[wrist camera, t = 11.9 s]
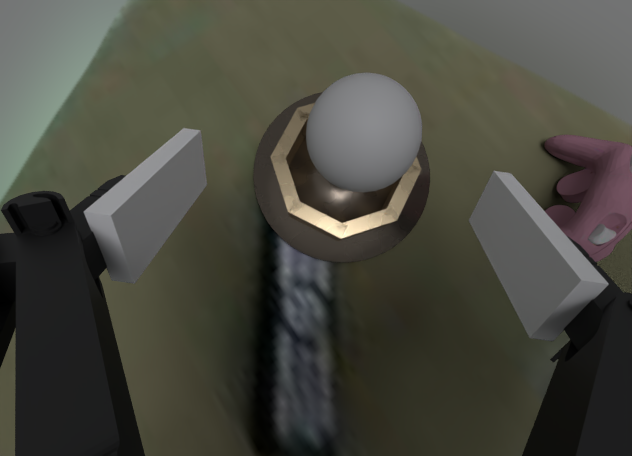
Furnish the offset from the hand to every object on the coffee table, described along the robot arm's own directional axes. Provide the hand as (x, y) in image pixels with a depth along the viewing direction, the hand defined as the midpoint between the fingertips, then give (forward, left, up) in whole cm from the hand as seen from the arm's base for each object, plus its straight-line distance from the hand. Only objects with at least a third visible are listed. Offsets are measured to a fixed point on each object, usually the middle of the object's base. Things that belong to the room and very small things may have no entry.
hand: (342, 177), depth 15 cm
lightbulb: (0, -3, -10) cm, 11 cm away
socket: (0, -3, -11) cm, 12 cm away
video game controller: (-16, -9, -11) cm, 22 cm away
